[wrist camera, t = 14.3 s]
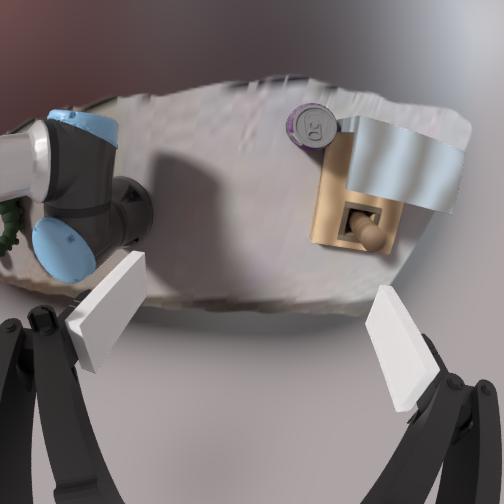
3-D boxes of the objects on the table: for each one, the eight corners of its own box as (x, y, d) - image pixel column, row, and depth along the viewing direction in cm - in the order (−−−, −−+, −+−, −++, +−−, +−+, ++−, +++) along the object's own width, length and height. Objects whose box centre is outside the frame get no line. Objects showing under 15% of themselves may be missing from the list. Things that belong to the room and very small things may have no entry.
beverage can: (323, 149, 47) (337, 154, 36) (284, 144, 48) (287, 147, 37) (326, 111, 44) (342, 105, 33) (287, 106, 45) (291, 98, 34)
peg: (347, 206, 51) (366, 226, 40) (366, 209, 51) (388, 230, 40) (343, 225, 53) (359, 250, 42) (362, 228, 53) (382, 254, 42)
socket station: (309, 234, 54) (325, 286, 36) (329, 121, 45) (360, 115, 27) (383, 246, 54) (423, 297, 36) (407, 141, 45) (465, 152, 27)
